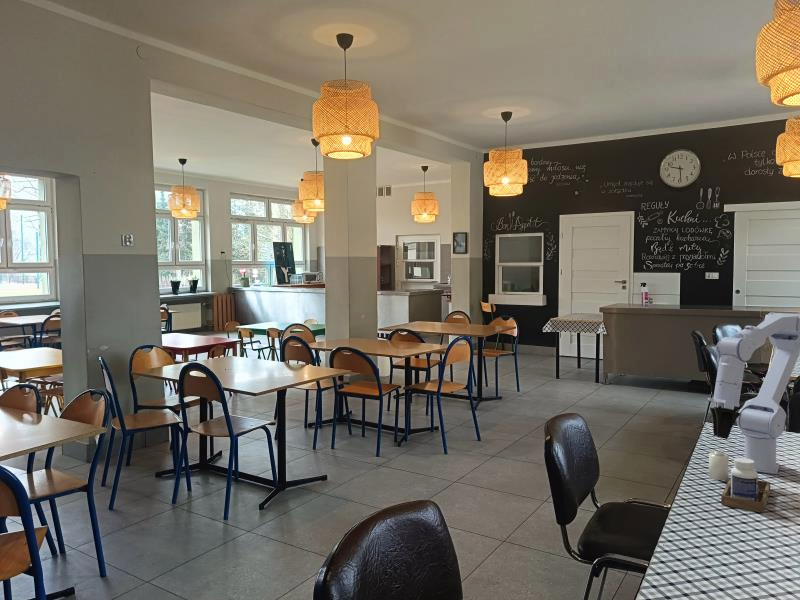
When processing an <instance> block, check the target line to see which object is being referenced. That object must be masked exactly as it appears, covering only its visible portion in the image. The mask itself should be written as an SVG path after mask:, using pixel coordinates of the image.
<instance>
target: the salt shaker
mask: <svg viewBox="0 0 800 600" xmlns="http://www.w3.org/2000/svg"><path fill="white" fill-rule="evenodd" d="M729 463H730V462H729V454H726V453H724V452H722V451H715V452H714V451H713V452H709V453H708V477H710V478H709V479H711V478H712V479H711V480H713V479H715V480H714V481H717V480H727V481H729V480H728V479H730V475H729V472H730V470H729V467H730V466H729V465H730V464H729Z"/></svg>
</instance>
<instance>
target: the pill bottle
mask: <svg viewBox="0 0 800 600" xmlns="http://www.w3.org/2000/svg"><path fill="white" fill-rule="evenodd" d="M733 462H734V463H733V464H734V467H732V468H731V470H730V478H731V495H730V497H736V498H741V499H747V500H752V501H758V502H759V500H758V490H759V489H758V480H759V473H758V471H755V470H753V469H754V468H755V462H754V461H753V460H751V459H746V458H745V457H736V458H734V461H733Z"/></svg>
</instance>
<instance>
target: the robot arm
mask: <svg viewBox="0 0 800 600" xmlns="http://www.w3.org/2000/svg"><path fill="white" fill-rule="evenodd" d="M767 338H768V340H769V343H770V345H772V346H774V347H775V348H776V352H775V353H774V355H773V359H772V361H771V364H770V366H769V368H768V371H767V372H766V374H765V377H764V380H763V382H762V384H761V386H760V389H759V392H758V395H757V396H756V397H754V398H751V399H748V400H745V402H744V405H743V406H742V407H741V408H740V410H738V411H734V409H735V407H737V408H739V407H740V405H741V404H740V398H741V391H742V385H743V380H744V379H743V378H744V372H745V365H746V362H747V361H750V359H751V358H752V356H753V354H754V352H755V350H757V349H758V348H760V347H762V346H763V345H765V343H766V339H767ZM715 352H716V356H717V358H716V363H717V364H718V367H717V372H716V374H717V375H716V379H715V386H714V392H713V397H707V401H710V402H713V403H716V406H714V407H709V411H710V414H711V416H712V417H711V418H712V430H713V431H712V432H713V436H715V437H717V438H721V439H723V440H725V439H726V440H727V439H729V437H730V434H731V431H732V430H733V429H732V428H733V426H734V424H735V422H736V425H737V427H738V428H739V430H741V434H744V458H746V459H751V460H753V461H754V462H755V468H754V469H753V470H755V471H756V472H757V473H758V472H759V473H766V474H770V475H771V474H772V475H778V471H779V468H780V463H779V462H777V438H779V437H780V436H781V435H782V434H783V433H784V430H785V426H786V419H787V413H786V411H785V410H784V409H783V407H782V406H781V405H780V402H781V400H782V397H783V395H784V393H785V391H786V388H787V385H788V383H789V380H790V379H791V376H792V374H793V371H794V368H795V366H796V364H797V362H798V359H799V356H800V313H781V312H773V311H771V312H769V313H768V314H765V317H764V320H763V321H762V322H760V323H759V324H758V325H757V326H754V325H745V326H744V329H742V330H740V331H739V332H735V333H734V334H733V335H732V336H724V337H722V338H720V339H719V340H718V342H717V343H716V345H715Z"/></svg>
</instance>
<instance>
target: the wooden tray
mask: <svg viewBox="0 0 800 600" xmlns="http://www.w3.org/2000/svg"><path fill="white" fill-rule="evenodd" d="M770 492H771V481H766V480H760V479H758V501H752V500H747V499H741V498H736V497H731V477H729V480H727V484H726V486H725V488H724V490H723V492H722V494H721V497H720V498H721V499H720V500H721V501H720V502H721V503H720V504H722V505H721V506H726V505H727V506H728V507H732V508H737V509H738V508H739V509H742V508H743V510H749V511H753V512H759V513H764V512H765V510H766V507H767V503H768V501H769V497H768V496H770ZM729 494H730V495H729ZM727 506H726V507H727Z"/></svg>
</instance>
